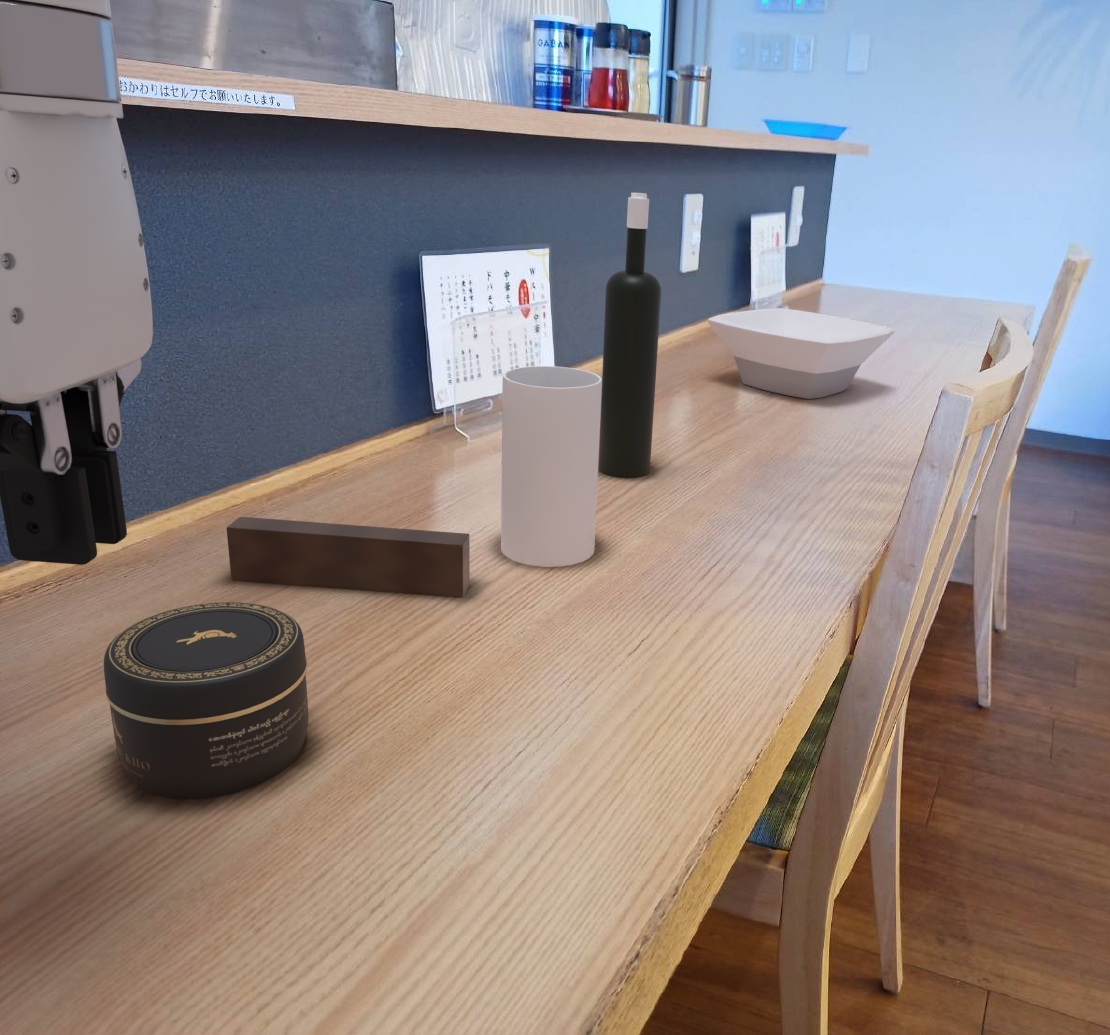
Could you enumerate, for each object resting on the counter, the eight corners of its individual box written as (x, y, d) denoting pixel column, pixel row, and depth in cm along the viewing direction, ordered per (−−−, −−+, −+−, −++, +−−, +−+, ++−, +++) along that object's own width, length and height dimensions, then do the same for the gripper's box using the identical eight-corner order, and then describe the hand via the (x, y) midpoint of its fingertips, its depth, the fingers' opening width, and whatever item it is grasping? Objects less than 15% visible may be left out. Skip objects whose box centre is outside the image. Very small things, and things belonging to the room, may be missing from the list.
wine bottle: (659, 475, 110) (678, 196, 100) (625, 486, 106) (641, 195, 96) (622, 463, 114) (637, 191, 103) (587, 473, 109) (598, 190, 99)
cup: (612, 552, 89) (621, 378, 83) (554, 580, 82) (559, 393, 76) (542, 529, 93) (546, 361, 87) (481, 554, 86) (481, 374, 80)
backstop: (231, 586, 76) (225, 527, 75) (245, 574, 79) (239, 516, 77) (463, 604, 77) (462, 544, 75) (469, 591, 79) (469, 533, 77)
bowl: (689, 382, 156) (694, 317, 152) (774, 363, 175) (780, 305, 172) (821, 414, 143) (830, 344, 139) (897, 390, 162) (907, 328, 158)
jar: (89, 754, 55) (69, 633, 53) (260, 692, 63) (250, 583, 60) (167, 838, 50) (149, 707, 47) (346, 759, 57) (339, 642, 54)
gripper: (30, 73, 42) (90, 483, 48) (-332, 31, 27) (-177, 628, 33) (208, 88, 42) (243, 495, 48) (-57, 54, 27) (45, 644, 34)
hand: (71, 547), depth 41 cm, fingers closed
